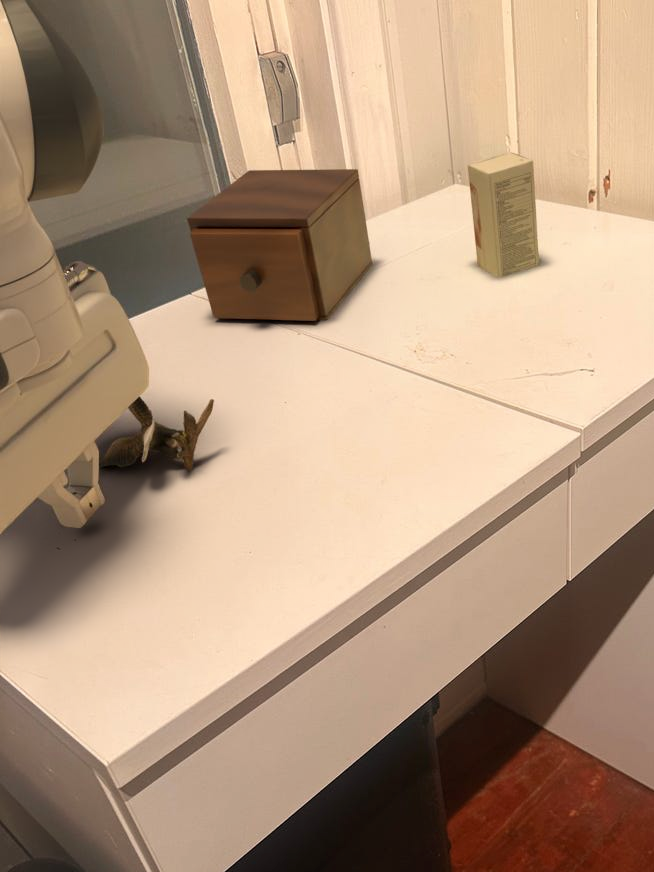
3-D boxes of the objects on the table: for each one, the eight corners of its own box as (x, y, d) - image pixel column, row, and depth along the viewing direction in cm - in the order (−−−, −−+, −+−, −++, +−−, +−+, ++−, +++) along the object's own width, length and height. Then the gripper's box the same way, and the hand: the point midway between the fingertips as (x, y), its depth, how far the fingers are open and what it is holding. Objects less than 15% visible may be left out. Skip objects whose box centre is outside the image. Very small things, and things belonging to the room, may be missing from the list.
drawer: (310, 326, 83) (292, 239, 78) (207, 323, 86) (183, 238, 80) (359, 268, 93) (345, 186, 87) (265, 266, 95) (247, 187, 90)
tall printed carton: (517, 256, 94) (512, 150, 87) (540, 269, 91) (537, 159, 84) (473, 270, 92) (465, 162, 86) (496, 283, 90) (489, 172, 83)
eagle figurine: (238, 424, 70) (143, 388, 72) (195, 379, 63) (92, 340, 66) (193, 511, 69) (98, 472, 71) (145, 475, 62) (41, 433, 65)
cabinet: (327, 325, 85) (306, 218, 79) (215, 321, 88) (186, 218, 81) (373, 268, 95) (358, 168, 88) (271, 266, 97) (248, 170, 91)
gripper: (50, 249, 61) (121, 433, 70) (-178, 401, 46) (-50, 606, 56) (134, 250, 59) (195, 438, 69) (-74, 407, 45) (40, 617, 54)
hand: (84, 515), depth 62 cm, fingers closed
